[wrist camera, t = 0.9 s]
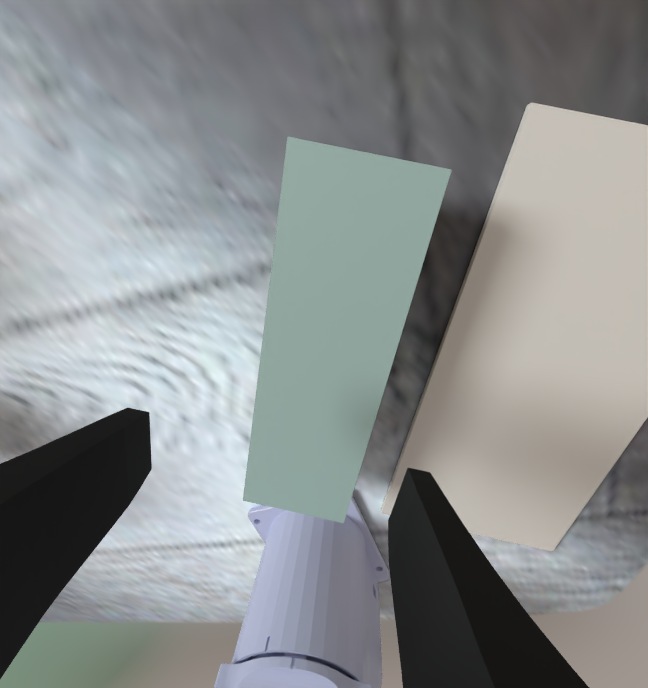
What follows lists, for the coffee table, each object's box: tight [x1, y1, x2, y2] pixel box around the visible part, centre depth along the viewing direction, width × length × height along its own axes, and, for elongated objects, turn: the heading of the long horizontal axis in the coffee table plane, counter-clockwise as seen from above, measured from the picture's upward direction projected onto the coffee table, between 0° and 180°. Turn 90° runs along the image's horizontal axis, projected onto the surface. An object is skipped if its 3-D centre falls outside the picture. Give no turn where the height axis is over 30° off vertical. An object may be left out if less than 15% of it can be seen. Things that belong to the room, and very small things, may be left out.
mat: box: [381, 103, 648, 552], centre depth 18 cm, size 24×12×1 cm, turn 169°
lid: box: [243, 137, 451, 523], centre depth 15 cm, size 17×6×2 cm, turn 169°
